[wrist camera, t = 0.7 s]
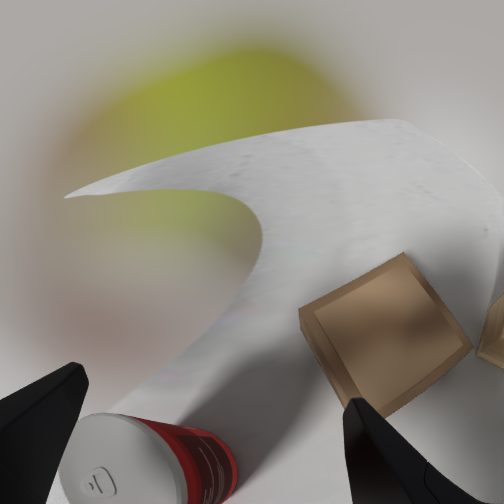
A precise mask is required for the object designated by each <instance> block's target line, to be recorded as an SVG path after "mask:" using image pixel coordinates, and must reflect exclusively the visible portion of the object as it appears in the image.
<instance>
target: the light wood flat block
mask: <svg viewBox="0 0 504 504" xmlns="http://www.w3.org/2000/svg"><path fill="white" fill-rule="evenodd" d="M298 310H299V320H300V329H301V331H302V333H303V334H304V336H305V338H306V340H307V342H308V343H309V345H310V347H311V349H312V351H313V352H314V354H315V356H316V358H317V360H318V362H319V363H320V365H321V367H322V369H323V371H324V373H325V374H326V376H327V378H328V380H329V382H330V383H331V385H332V387H333V389H334V391H335V393H336V394H337V396H338V398H339V400H340V402H341V404H342V405H343V407H344V409H345V408H346V406H347V404H348V402H349V400H350V399H351V398H355V397H363V398H364V399H365V400H366V401H367V402H368V403H369V404H370V405H371V406H372V407H373V408H374V409H375V410H376V411H377V412H378V413H379V414H380V415H381V416H382V417H383V418H384V419H385V418H386V417H388V416H389V415H391V414H392V413H394V412H395V411H397V410H398V409H400V408H401V407H403V406H404V405H406V404H407V403H408V402H410V401H411V400H412V399H414V398H415V397H417V396H418V395H419V394H421V393H422V392H423V391H425V390H426V389H427V388H428V387H430V386H431V385H432V384H433V383H435V382H436V381H437V380H438V379H440V378H441V377H442V376H443V375H444V374H445V373H447V372H448V371H449V370H450V369H451V368H452V367H454V366H455V365H456V364H457V363H458V362H459V361H460V360H461V359H462V358H463V357H465V356H466V355H467V354H468V353H469V352H470V351H471V350H472V349H473V348H474V347H473V345H472V344H471V342H470V340H469V339H468V337H467V336H466V334H465V333H464V331H463V330H462V328H461V327H460V325H459V324H458V323H457V321H456V320H455V318H454V317H453V315H452V314H451V313H450V311H449V310H448V308H447V307H446V306H445V304H444V303H443V301H442V300H441V299H440V297H439V296H438V295H437V293H436V292H435V291H434V289H433V288H432V287H431V286H430V284H429V283H428V282H427V280H426V279H425V278H424V277H423V275H422V274H421V273H420V272H419V270H418V269H417V268H416V267H415V265H414V264H413V263H412V262H411V261H410V259H409V258H408V257H407V256H406V255H405V253H404V252H402V253H401V254H399V255H397V256H396V257H394V258H392V259H391V260H389V261H387V262H385V263H384V264H382V265H380V266H378V267H377V268H375V269H373V270H371V271H370V272H368V273H366V274H364V275H362V276H361V277H359V278H357V279H355V280H353V281H351V282H349V283H348V284H346V285H344V286H342V287H340V288H338V289H336V290H334V291H333V292H331V293H329V294H327V295H325V296H323V297H321V298H319V299H317V300H315V301H313V302H311V303H309V304H307V305H305V306H303V307H301V308H299V309H298Z"/></svg>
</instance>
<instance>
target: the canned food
mask: <svg viewBox="0 0 504 504" xmlns="http://www.w3.org/2000/svg"><path fill="white" fill-rule="evenodd" d="M58 474H59V479H60V484H61V486H62V489H63V492H64V495H65V497H66V498H67V500H68V502H69V504H222V503H223V502H224V501H226V500H227V499H228V498H229V496H230V495H231V494H232V492H233V490H234V488H235V486H236V482H237V476H238V474H237V465H236V462H235V458H234V456H233V455H232V453H231V451H230V449H229V448H228V447H227V446H226V445H225V443H224V442H222V441H221V440H220V439H219V438H218V437H216V436H214V435H213V434H211V433H209V432H207V431H204V430H201V429H196V428H191V427H184V426H178V425H172V424H166V423H161V422H155V421H150V420H146V419H141V418H137V417H132V416H127V415H122V414H113V413H97V414H91V415H89V416H86V417H84V418H82V419H80V420H79V421H77V422H76V425H75V427H74V430H73V432H72V434H71V437H70V439H69V441H68V444H67V446H66V449H65V451H64V454H63V456H62V459H61V462H60V464H59V467H58Z"/></svg>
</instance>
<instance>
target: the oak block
mask: <svg viewBox="0 0 504 504" xmlns="http://www.w3.org/2000/svg"><path fill="white" fill-rule="evenodd" d="M476 355H477V356H479V357H481V358H483V359H485V360H487V361H488V362H490V363H492V364H494V365H496V366H498V367H500V368H502V369H504V293H503V294H502V296H501V297H500V298H499V299H498V300H497V301H496V302H495V303H494V304H493V305H492V306H491V307H490V308H489V309H488V311H487V316H486V320H485V324H484V328H483V332H482V336H481V340H480V343H479V347H478V350H477V353H476Z"/></svg>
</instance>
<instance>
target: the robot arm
mask: <svg viewBox="0 0 504 504" xmlns="http://www.w3.org/2000/svg"><path fill="white" fill-rule="evenodd" d="M88 386H89V381H88V378H87V375H86V372H85V369H84V367H83V365H81V364H79V363H76V362H70V363H69V364H67V365H65V366H63V367H61V368H59V369H57V370H56V371H54V372H52V373H50V374H48V375H46V376H44V377H43V378H41V379H39V380H37V381H35V382H33V383H31V384H29V385H28V386H26V387H24V388H22V389H20V390H18V391H16V392H14V393H12V394H11V395H9V396H7V397H5V398H3V399H1V400H0V504H46V501H47V498H48V495H49V492H50V489H51V486H52V483H53V481H54V478H55V475H56V472H57V470H58V467H59V464H60V462H61V459H62V456H63V454H64V451H65V449H66V446H67V444H68V441H69V439H70V437H71V434H72V432H73V430H74V427H75V425H76V422H77V420H78V417H79V414H80V411H81V408H82V404H83V401H84V398H85V395H86V392H87V389H88ZM343 432H344V449H345V460H346V466H347V471H348V477H349V483H350V489H351V496H352V502H353V504H489V503H484V502H481V501H479V500H477V499H475V498H474V497H472V496H471V495H469V494H468V493H466V492H465V491H464V490H462V489H461V488H459V487H458V486H457V485H455V484H454V483H452V482H451V481H450V480H449V479H447V478H446V477H445V476H444V475H442V474H441V473H440V472H439V471H438V470H437V469H436V468H435V467H434V466H432V465H431V464H430V463H429V462H427V460H426V459H425V458H424V457H423V456H422V455H421V454H420V453H419V452H418V451H417V450H416V449H415V448H414V447H413V446H412V445H411V444H410V443H409V442H408V441H407V440H406V439H405V438H404V437H402V436H401V435H400V434H399V433H398V432H397V431H396V430H395V429H394V428H393V427H392V426H391V425H390V424H389V423H388V422H387V421H386V420H385V419H384V418H383V417H382V416H381V415H380V414H379V413H378V412H377V411H376V410H375V409H374V408H373V407H372V406H371V405H370V404H369V403H368V402H367V401H366V400H365V399H364V398H363V397H355V398H351V399H350V400H349V402H348V404H347V406H346V408H345V411H344V413H343Z"/></svg>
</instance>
